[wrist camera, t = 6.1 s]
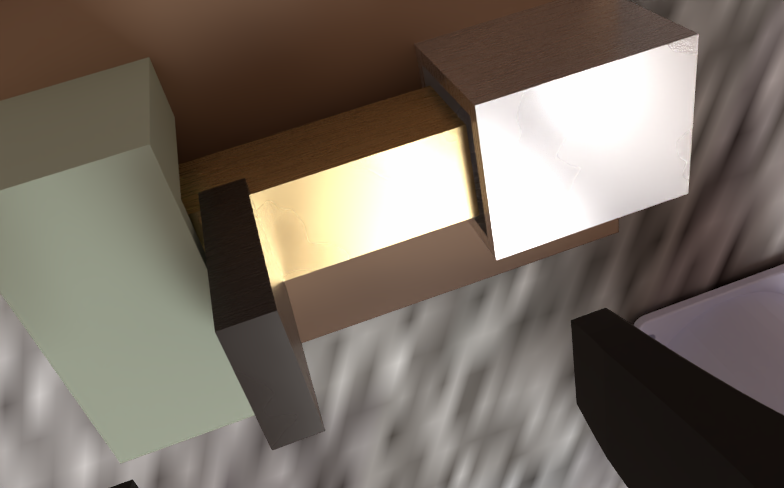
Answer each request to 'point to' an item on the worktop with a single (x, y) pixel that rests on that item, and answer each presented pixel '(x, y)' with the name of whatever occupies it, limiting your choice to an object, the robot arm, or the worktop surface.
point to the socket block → (112, 259)
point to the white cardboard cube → (568, 115)
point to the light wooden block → (316, 228)
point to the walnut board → (277, 106)
